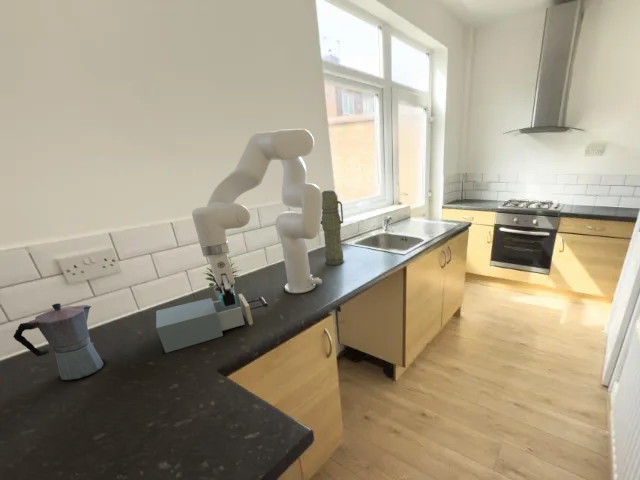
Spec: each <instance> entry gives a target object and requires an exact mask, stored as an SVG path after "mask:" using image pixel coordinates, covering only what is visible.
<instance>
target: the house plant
mask: <svg viewBox="0 0 640 480" xmlns="http://www.w3.org/2000/svg"><path fill="white" fill-rule="evenodd" d="M234 264H235V262H233V263H230V265H231V268H232V266H233V265H234ZM237 268H238V266H235V267H233V268H232V273H233V277H234V280H237V279H239V277H240V274H234V273H238V272H240V271H242V269H237ZM207 270H208V271H207ZM201 274H203V275H204V274H205V275H207V276H208V277H205V280H208V281H211V282H209V283H208V287H209V288H212V287H214V288H213V292H214V293H215V296H216V298H217V301H219V300H220V298H219V294H220V290H219V289H220V287H219V286H218V284H217V282H216V280H215V278H214V275H213V272H212V269H211V268H209V267H206V270H205V272H202V273H201ZM230 285H231V289H232V291H233V292H234V293H235V284H231V283H230Z"/></svg>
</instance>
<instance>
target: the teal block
mask: <svg viewBox="0 0 640 480" xmlns="http://www.w3.org/2000/svg"><path fill="white" fill-rule="evenodd" d="M232 292H233V291H232ZM222 295H223V293H220V294H219V298H220V301H221V304H222V306H223V307H224V306H225V305H224V301H223V297H222ZM233 295H234V299H235V304H236V303H237V304H238V300H237V296H236V293H235V291H234V292H233Z"/></svg>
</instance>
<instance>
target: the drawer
mask: <svg viewBox="0 0 640 480" xmlns="http://www.w3.org/2000/svg"><path fill="white" fill-rule="evenodd" d="M238 299H239V303H240V306H238V302H237V303H236V304H234V305H230V306H224V307H223V306H222V304H221V301H220V300H215V301H213V304H214V307H215V309H216V312H217V316H218V319H219V323H220V326H221V330H222V332H223V331H226V330H231V329H234V328H237V327H240V326H244V325H245V319H246V321H247V323H248V324H249V326H251V325H253V324H254V321H253V315H252V313H251V310H255V309H258V308H262V307H264V308H267V307H268V306H269V304H268V302H267V301H266V299H265V298H264V297H263V296H259V297H258V298H255V299H252V300H246V297H244V295H243V293H239V294H238ZM259 301H260V303H261V304H259V305H255V306H250V304H252V303H255V302H259ZM244 318H245V319H244Z"/></svg>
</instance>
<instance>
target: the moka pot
mask: <svg viewBox="0 0 640 480" xmlns="http://www.w3.org/2000/svg"><path fill="white" fill-rule="evenodd" d="M51 307H52V309H50V310H48V311H45V312H43V313H41V314H39V315H37V316H35V318H34V319H33V320H29V321H28V322H22V323H20V324H19V325H18V326H17V329H16V330H15V332H14V334H13V338H14V340H15V341H17V342H18V343H20V344H21V345H22V346H24V347H25V348H26V349H27V350H29V351H30V352H31V353H32V354H33V355H35V356H36V357H41V356H46V355H48V354H50V349H44V350H43V351H41V350H39V349H38V348H36V347H35V346H34V345H33V343H32V342H30V341H29V340H28V339H27V338H26V337H25V336H23V332H25V331H29V330H30V331H31V330H35V329H38V330H39V332H40V333H41V335H42V336H43V337H44V339H45V340H46V342H47V343H48V344H49V345H50V347H51V348H52V350H53V351H54V356H55V360H56V364H57V368H58V373H59V376H60V379H61V380H62V381H63V380H64V381H71V380H78V379H82V378H85V377H87V376H90V375H92V374H94V373H96V372H98V371H99V370H101V369H102V368H103V366H104V362H103V359H102V358H101V357H100V355H99V353H98V351H97V350H96V347H94V346H95V343H94V342H93V341H92V342H91V338H90V332H89V328H88V318H89V313H90V309H91V308H92V305H88V304H80V305H68V306H63V307H62V305H61V303H58V302H57V303H54V304H52V305H51Z"/></svg>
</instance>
